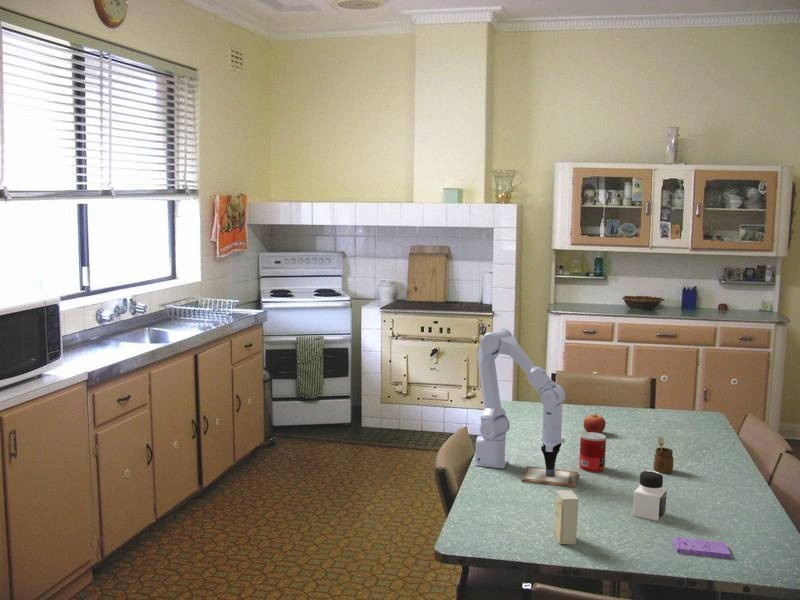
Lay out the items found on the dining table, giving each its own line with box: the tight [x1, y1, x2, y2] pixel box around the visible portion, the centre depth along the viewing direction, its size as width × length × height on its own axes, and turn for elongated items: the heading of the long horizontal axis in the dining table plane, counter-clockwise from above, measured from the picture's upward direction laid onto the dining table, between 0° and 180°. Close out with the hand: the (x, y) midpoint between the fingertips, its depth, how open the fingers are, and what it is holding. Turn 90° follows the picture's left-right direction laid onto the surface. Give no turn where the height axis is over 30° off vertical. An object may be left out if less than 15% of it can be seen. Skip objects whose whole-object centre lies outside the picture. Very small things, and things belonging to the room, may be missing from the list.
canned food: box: [578, 431, 607, 473], centre depth 254 cm, size 8×8×11 cm
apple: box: [583, 412, 607, 434], centre depth 293 cm, size 8×8×8 cm
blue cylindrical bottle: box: [546, 464, 556, 477], centre depth 245 cm, size 3×3×8 cm
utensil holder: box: [653, 435, 674, 475], centre depth 253 cm, size 6×6×12 cm
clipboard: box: [521, 465, 579, 488], centre depth 246 cm, size 16×13×1 cm
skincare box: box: [552, 489, 580, 545], centre depth 200 cm, size 6×4×12 cm
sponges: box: [672, 536, 731, 559], centre depth 196 cm, size 7×13×2 cm, turn 77°
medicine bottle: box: [632, 470, 667, 522], centre depth 217 cm, size 7×7×12 cm
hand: (550, 467), depth 245 cm, fingers closed on blue cylindrical bottle, 3 cm apart
